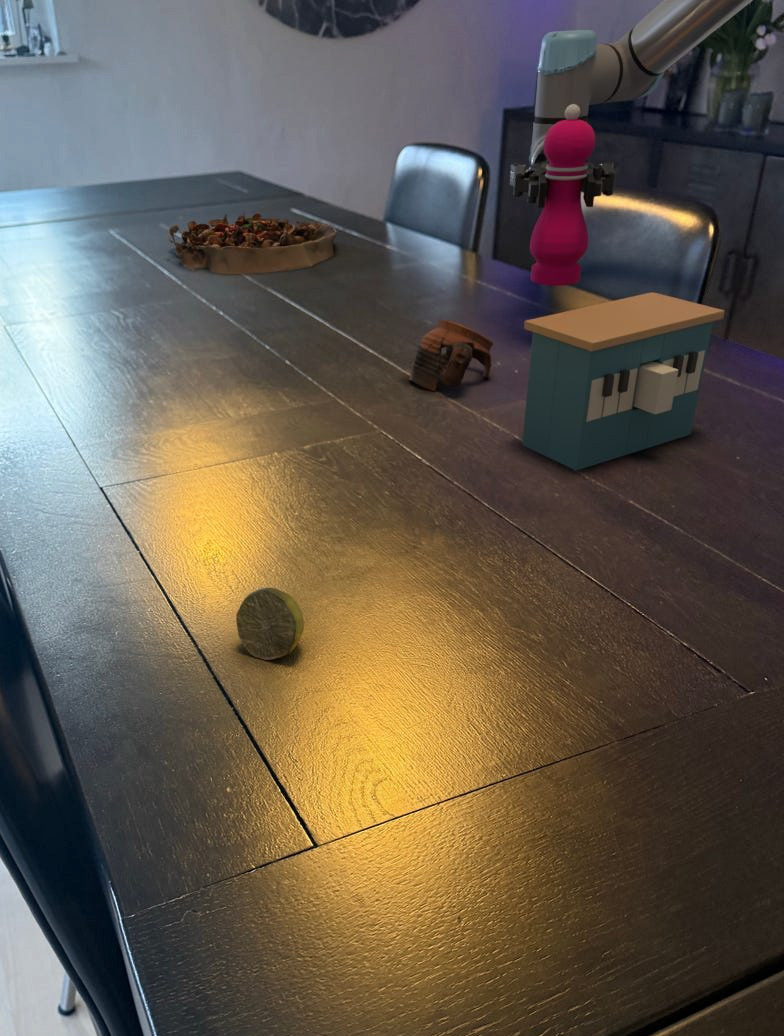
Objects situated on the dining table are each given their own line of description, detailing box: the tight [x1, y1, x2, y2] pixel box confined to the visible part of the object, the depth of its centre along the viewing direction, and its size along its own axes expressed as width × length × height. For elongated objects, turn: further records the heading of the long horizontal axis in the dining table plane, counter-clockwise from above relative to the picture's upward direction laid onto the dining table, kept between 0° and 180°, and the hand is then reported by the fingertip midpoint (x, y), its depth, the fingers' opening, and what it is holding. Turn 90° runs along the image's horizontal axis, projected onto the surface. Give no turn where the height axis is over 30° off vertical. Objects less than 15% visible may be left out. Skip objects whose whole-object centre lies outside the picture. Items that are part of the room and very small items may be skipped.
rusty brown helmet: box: [408, 319, 494, 392], centre depth 112 cm, size 12×10×8 cm
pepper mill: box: [529, 104, 596, 287], centre depth 115 cm, size 7×7×20 cm
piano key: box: [633, 361, 678, 414], centre depth 90 cm, size 4×2×4 cm, turn 30°
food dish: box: [165, 212, 338, 275], centre depth 179 cm, size 35×33×8 cm
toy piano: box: [521, 291, 725, 471], centre depth 94 cm, size 9×17×13 cm, turn 120°
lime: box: [235, 587, 305, 661], centre depth 66 cm, size 4×5×5 cm
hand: (566, 194), depth 111 cm, fingers closed on pepper mill, 5 cm apart
